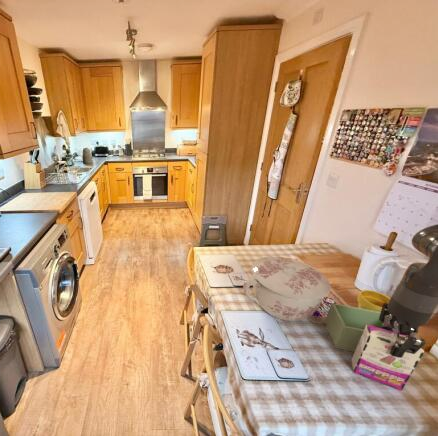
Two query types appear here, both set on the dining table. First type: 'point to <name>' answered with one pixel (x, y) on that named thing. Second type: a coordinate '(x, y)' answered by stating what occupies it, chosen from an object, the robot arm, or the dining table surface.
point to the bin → (350, 324)
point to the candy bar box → (383, 358)
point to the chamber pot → (287, 287)
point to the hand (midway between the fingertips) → (388, 346)
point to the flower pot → (372, 300)
